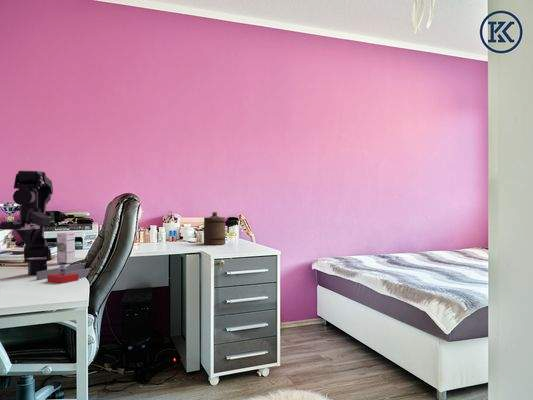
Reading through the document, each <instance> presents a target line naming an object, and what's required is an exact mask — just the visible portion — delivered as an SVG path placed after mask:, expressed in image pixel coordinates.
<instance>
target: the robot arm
mask: <svg viewBox="0 0 533 400" xmlns="http://www.w3.org/2000/svg"><path fill="white" fill-rule="evenodd" d="M52 181H53V180H52V179H50V178H49V177H48V176H47V173H46V172H45V171H38V170H18V171H17V173H15V178H14V184H13V189H14V190H15V191H14V193H13V194H12V200H13V201H14V203H15V204H17V205H19V207H17V208H16V211H17V212H19V219H18V218H17V219H16V220H8V221H7V220H5V221H4V220H3V221H1V222H0V231H1V230H6V231H8V230H9V231H14V232H17V235H19V237H20V238H21V240H22V242H23V244H24V246H23V259H24V260H23V261H24V263H26V262H27V263H28V264H27V268H28V269H27V271H28V272H27V274H28V275H29V276H37V272H38V271H44V270H48V264H47V263H48V262H49V261H51V260H52V254H51V253H52V252H51V249H50V246H49V245H48V242H47V240H46V237H45V227H47V228H56V222H55V213H54V212H52V211H47V204H49V202H50V201H51V199H52V195H53V194H54V186H53V182H52ZM46 211H47V212H46Z"/></svg>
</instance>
